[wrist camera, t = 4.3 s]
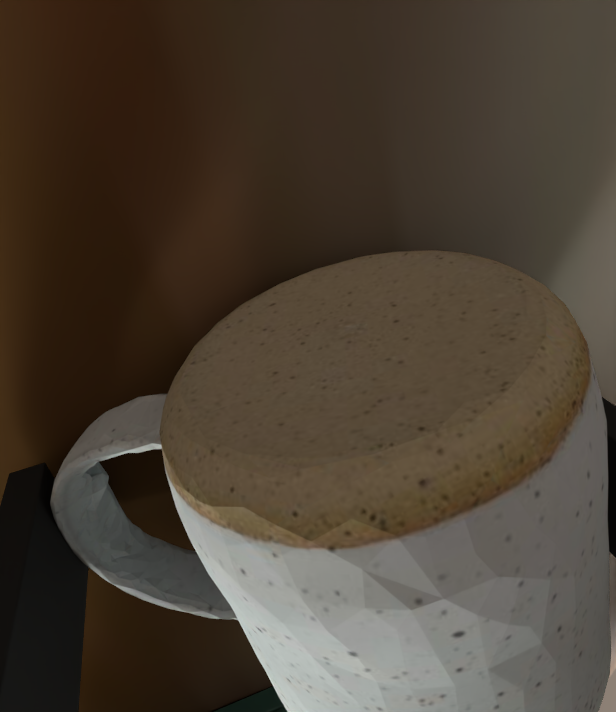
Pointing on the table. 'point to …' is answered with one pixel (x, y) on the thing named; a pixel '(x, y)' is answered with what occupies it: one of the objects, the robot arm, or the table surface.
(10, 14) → the table surface
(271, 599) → the ceramic mug
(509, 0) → the table surface
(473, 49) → the table surface
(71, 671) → the robot arm
